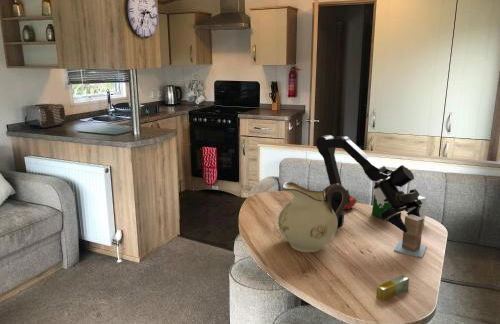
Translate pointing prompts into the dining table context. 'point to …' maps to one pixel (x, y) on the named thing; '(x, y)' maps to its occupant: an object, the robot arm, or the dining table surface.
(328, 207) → the pitcher
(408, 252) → the slate-blue rubber mat
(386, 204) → the milk carton
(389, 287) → the medication box
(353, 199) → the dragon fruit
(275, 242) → the dining table surface
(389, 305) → the dining table surface
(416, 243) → the wooden block
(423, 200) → the skincare box
